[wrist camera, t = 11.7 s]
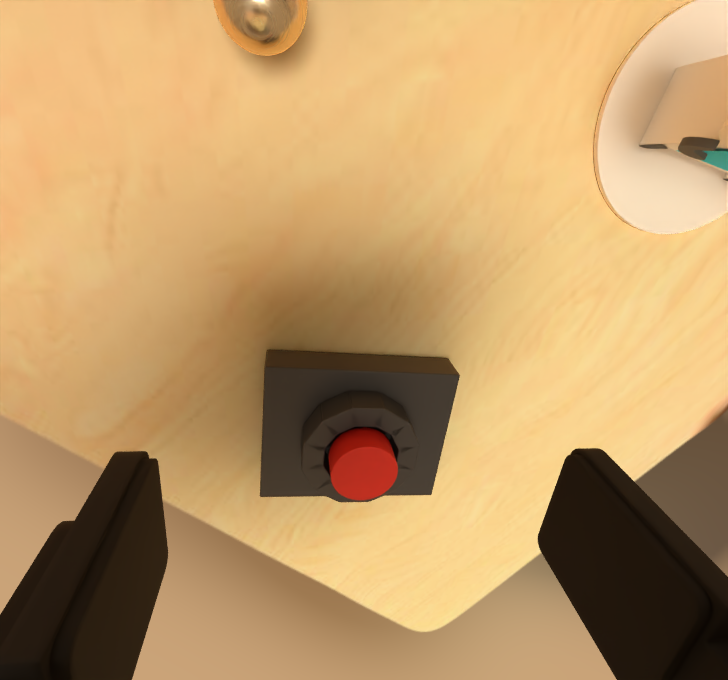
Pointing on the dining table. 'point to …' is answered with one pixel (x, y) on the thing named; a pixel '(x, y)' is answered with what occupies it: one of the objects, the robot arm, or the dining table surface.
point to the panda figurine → (669, 124)
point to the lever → (262, 23)
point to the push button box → (351, 417)
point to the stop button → (362, 464)
